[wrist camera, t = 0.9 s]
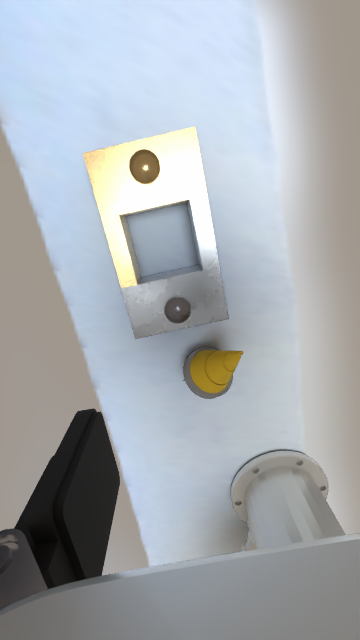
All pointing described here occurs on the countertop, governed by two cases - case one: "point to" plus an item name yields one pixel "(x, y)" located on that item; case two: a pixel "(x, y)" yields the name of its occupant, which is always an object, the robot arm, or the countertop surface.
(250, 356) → the countertop surface
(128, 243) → the metal strike plate
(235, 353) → the yellow tiered cone
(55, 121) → the countertop surface
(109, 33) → the countertop surface
